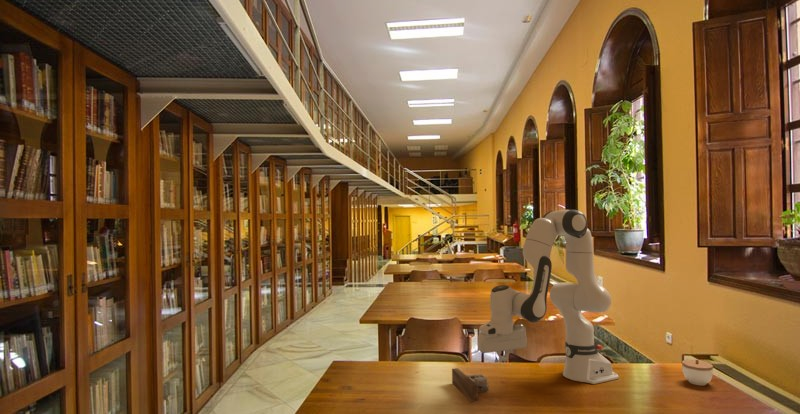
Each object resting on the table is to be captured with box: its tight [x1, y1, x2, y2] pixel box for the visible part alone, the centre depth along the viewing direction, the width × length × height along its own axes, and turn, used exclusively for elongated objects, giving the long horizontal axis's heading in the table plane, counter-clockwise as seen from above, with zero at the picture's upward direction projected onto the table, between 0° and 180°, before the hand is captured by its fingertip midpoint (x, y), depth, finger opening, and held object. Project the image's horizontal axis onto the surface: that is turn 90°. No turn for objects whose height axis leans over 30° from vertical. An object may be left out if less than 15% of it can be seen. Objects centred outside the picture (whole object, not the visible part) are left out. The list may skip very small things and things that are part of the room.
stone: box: [465, 374, 489, 393], centre depth 186 cm, size 13×6×10 cm
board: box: [451, 368, 479, 403], centre depth 182 cm, size 2×20×6 cm, turn 14°
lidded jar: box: [681, 358, 714, 386], centre depth 190 cm, size 11×11×9 cm
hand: (503, 361), depth 187 cm, fingers closed
